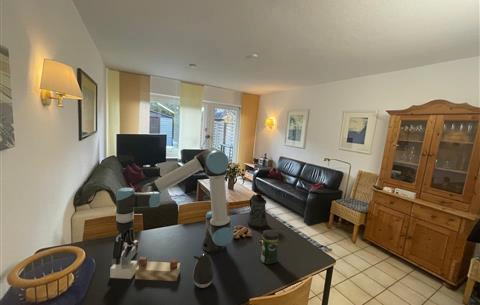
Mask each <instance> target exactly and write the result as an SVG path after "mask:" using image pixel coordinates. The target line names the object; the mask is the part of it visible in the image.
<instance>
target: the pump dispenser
mask: <svg viewBox="0 0 480 305" xmlns="http://www.w3.org/2000/svg"><path fill="white" fill-rule="evenodd" d="M193 259H195V260H196V262H195V265H194V267H193V272H192V280H193V283H194V284H195V285H196V287H197V288H203V289H204V288H207V287H208V286H210V285H211V283H212V282H213V280H214V277H215V270H214V264H213V260H212V258H211V256H210V255H209V254H208V253H205V252H204V253H201V255H200V256H197V255H193Z"/></svg>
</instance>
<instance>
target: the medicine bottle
mask: <svg viewBox="0 0 480 305" xmlns="http://www.w3.org/2000/svg"><path fill="white" fill-rule="evenodd" d="M135 236H136V235H135V234H134V237H135ZM133 242H135V243H134V245H133V244H132V246H133V247H136V253H138V251H139V241H138V240H136V239H135V241H133ZM126 245H128V244H127V242H124V246H126Z"/></svg>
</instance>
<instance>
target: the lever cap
mask: <svg viewBox="0 0 480 305" xmlns="http://www.w3.org/2000/svg"><path fill="white" fill-rule="evenodd" d="M135 255H136V247H133V246H123V250H122V255H121V256H122V265H127V264H128V263H129V261H132V259H133V258H134V256H135ZM114 264H115V259H112V258H111V265H114Z"/></svg>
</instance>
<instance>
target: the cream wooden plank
mask: <svg viewBox="0 0 480 305" xmlns="http://www.w3.org/2000/svg"><path fill="white" fill-rule="evenodd" d="M180 272H181V263H180V262H178V259H176V258H173V259H171V260H169V262H165V261H164V262H161V261H148V256H140V257H139V258H138V264H137V268H136V269H135V274H134V277H135V278H134V280H148V281H150V280H151V281H166V282H167V281H169V282H177V281H178V278H179V276H180Z"/></svg>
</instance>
